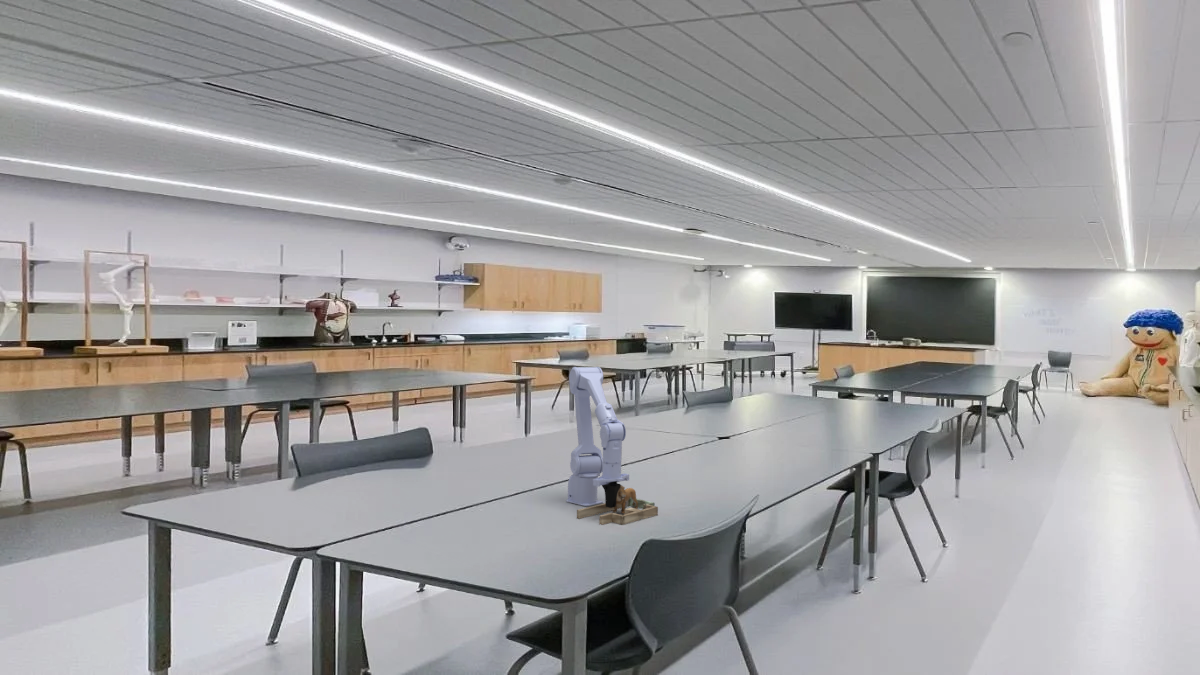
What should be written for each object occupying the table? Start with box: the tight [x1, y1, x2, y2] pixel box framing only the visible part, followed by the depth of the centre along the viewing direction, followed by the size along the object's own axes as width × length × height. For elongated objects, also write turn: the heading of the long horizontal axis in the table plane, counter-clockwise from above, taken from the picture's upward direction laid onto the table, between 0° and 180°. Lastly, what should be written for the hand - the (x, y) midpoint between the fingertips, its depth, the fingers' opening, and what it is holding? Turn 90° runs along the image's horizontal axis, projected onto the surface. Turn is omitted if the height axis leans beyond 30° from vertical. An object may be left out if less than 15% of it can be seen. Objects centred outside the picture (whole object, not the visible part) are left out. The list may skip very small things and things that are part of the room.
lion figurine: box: [612, 484, 639, 514], centre depth 244 cm, size 15×5×9 cm, turn 156°
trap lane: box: [576, 497, 659, 526], centre depth 239 cm, size 14×25×3 cm, turn 138°
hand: (610, 506), depth 238 cm, fingers closed
